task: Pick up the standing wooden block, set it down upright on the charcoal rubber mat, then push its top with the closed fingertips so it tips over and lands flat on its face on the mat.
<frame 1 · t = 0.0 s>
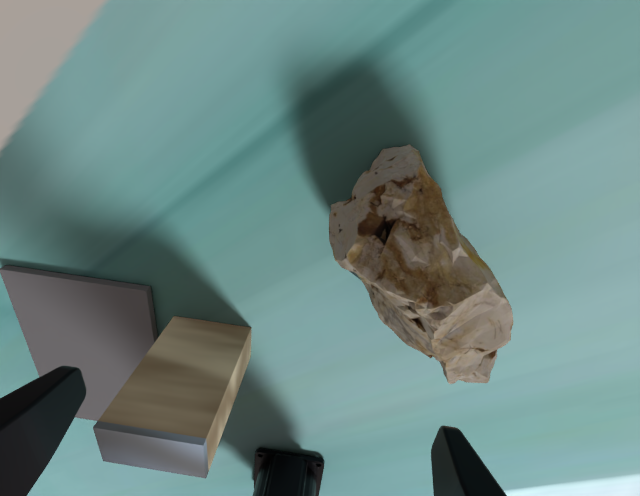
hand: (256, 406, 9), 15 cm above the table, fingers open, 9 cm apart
mat: (98, 355, 30), on the table
wooden block: (213, 336, 28), on the table
rock: (408, 245, 23), on the table
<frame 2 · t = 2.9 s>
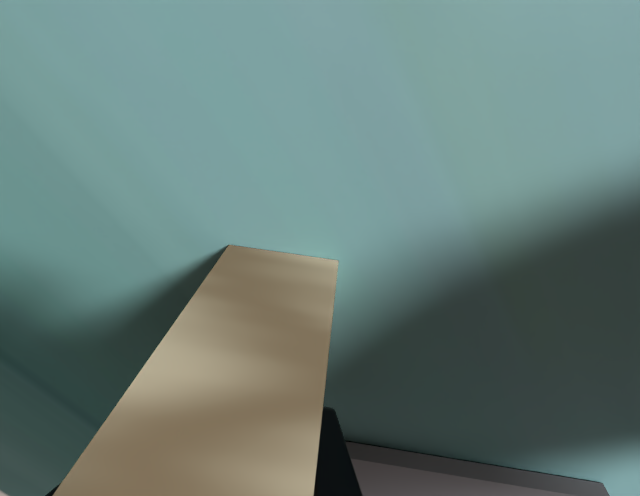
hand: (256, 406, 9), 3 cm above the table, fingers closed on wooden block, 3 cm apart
wooden block: (277, 336, 11), on the table, touching gripper
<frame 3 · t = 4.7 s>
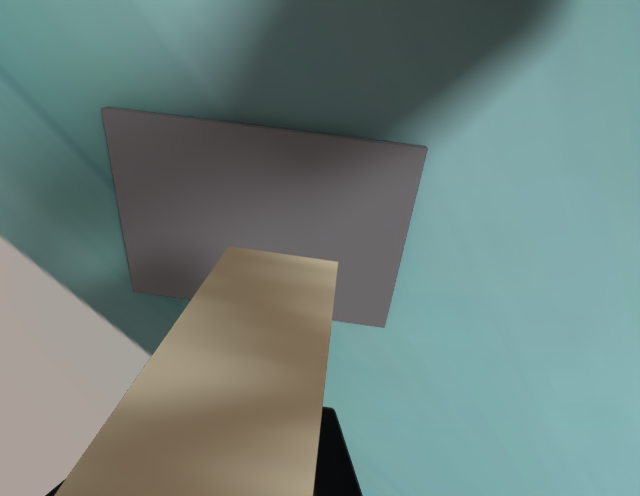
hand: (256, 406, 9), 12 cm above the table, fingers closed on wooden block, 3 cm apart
mat: (261, 226, 20), on the table
wooden block: (277, 337, 11), point 10 cm above the table, touching gripper
when the fingers open (3 cm above the table, at t = 6.9 s): wooden block stays where it is, resting on mat.
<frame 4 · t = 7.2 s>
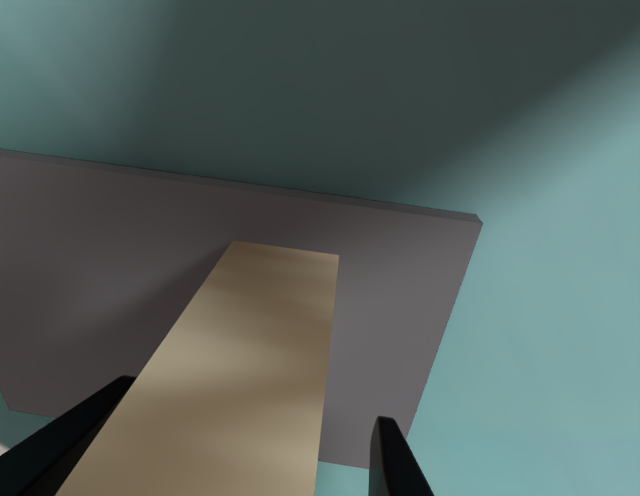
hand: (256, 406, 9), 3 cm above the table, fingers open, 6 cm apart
mat: (196, 327, 13), on the table
wooden block: (280, 330, 11), point 1 cm above the table, touching mat
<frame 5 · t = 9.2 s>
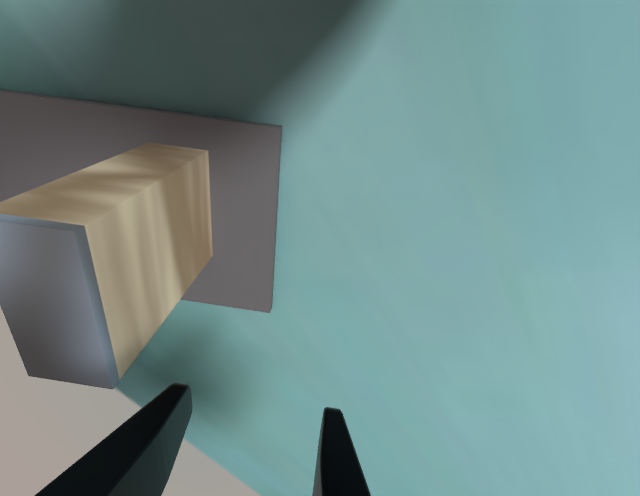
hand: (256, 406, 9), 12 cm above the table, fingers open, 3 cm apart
mat: (136, 208, 20), on the table
wooden block: (183, 203, 19), point 1 cm above the table, touching mat
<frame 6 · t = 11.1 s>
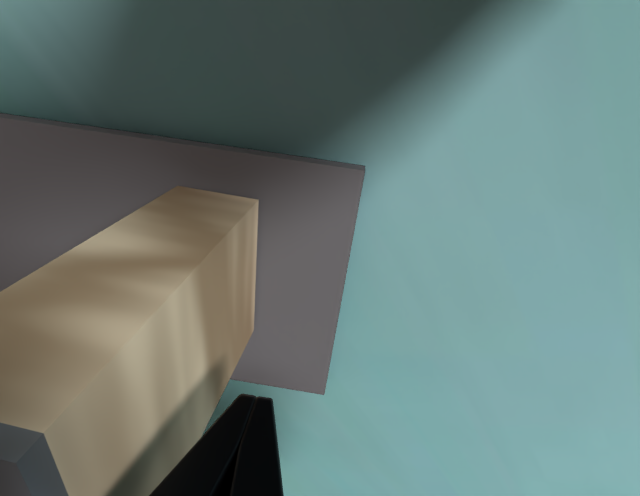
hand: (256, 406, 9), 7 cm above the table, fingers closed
mat: (155, 265, 15), on the table
wooden block: (219, 264, 14), point 1 cm above the table, touching gripper, mat
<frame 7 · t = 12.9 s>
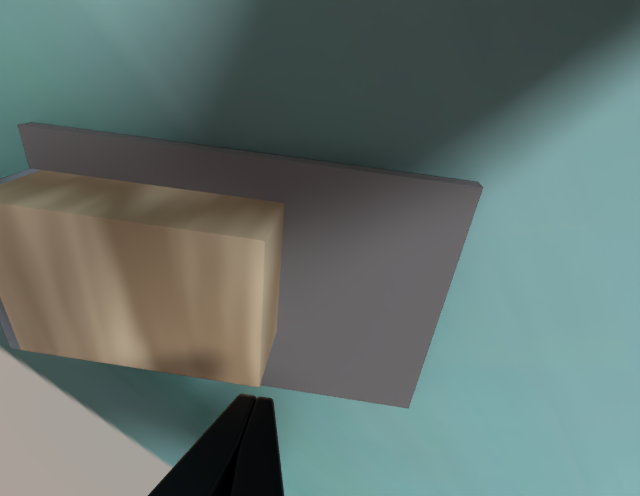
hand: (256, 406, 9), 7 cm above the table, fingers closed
mat: (247, 281, 15), on the table
wooden block: (271, 295, 13), point 2 cm above the table, tilted 90°, touching mat
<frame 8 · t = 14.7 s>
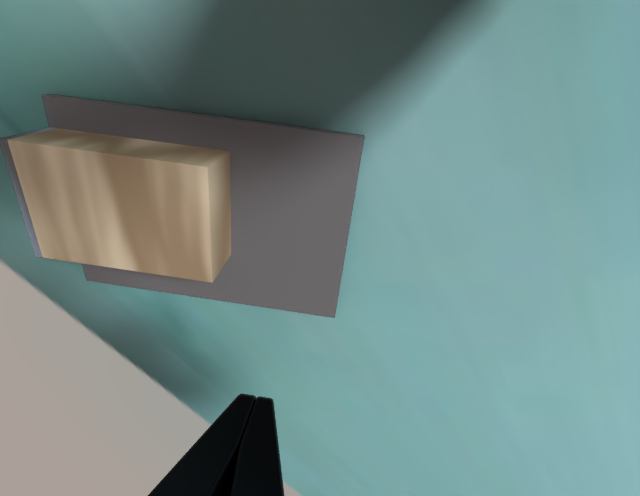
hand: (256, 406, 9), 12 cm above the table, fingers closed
mat: (209, 215, 21), on the table
wooden block: (221, 217, 18), point 2 cm above the table, tilted 90°, touching mat
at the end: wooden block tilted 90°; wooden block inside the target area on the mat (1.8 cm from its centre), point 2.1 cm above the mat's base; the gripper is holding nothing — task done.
